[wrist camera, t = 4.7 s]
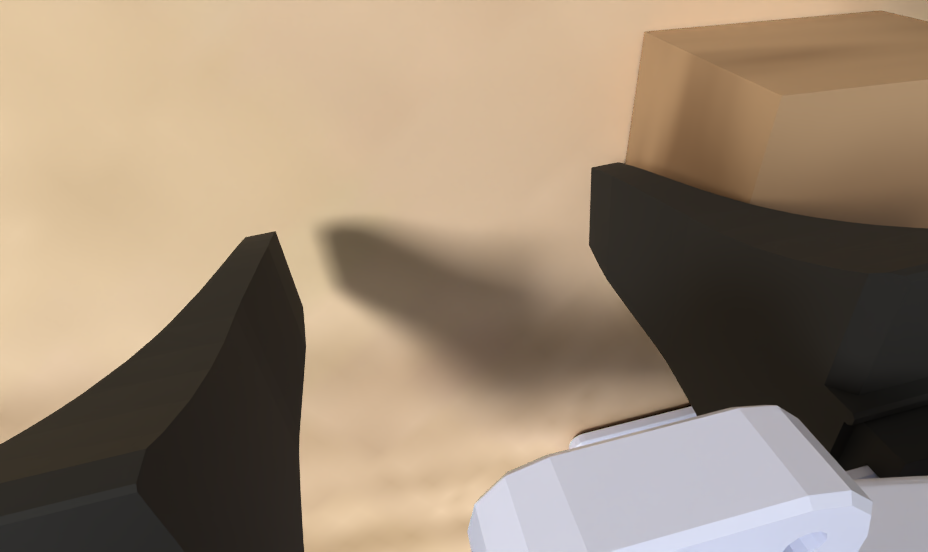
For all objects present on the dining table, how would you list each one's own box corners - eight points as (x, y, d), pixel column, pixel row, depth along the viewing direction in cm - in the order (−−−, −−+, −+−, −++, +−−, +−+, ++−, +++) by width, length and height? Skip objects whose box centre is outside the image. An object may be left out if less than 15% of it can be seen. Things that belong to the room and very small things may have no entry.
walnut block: (799, 229, 17) (933, 326, 13) (611, 259, 16) (699, 371, 12) (881, 10, 13) (1094, 60, 10) (644, 31, 12) (781, 96, 9)
